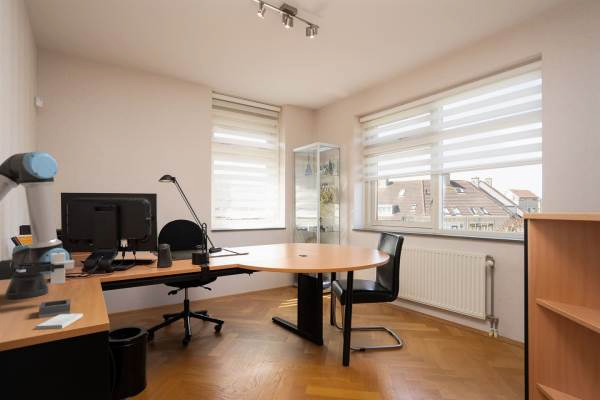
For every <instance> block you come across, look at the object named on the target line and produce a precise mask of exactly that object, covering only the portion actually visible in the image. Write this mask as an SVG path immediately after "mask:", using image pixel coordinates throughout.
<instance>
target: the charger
mask: <svg viewBox="0 0 600 400" xmlns="http://www.w3.org/2000/svg"><path fill="white" fill-rule="evenodd" d="M63 262H65V253H52V254H51V264H54V263H63ZM65 282H66V269H61V270H54V272H52V271H51V275H50V285H57V284H63V283H64V284H65Z"/></svg>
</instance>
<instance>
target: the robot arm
mask: <svg viewBox="0 0 600 400" xmlns="http://www.w3.org/2000/svg"><path fill="white" fill-rule="evenodd" d="M58 171H59V165H58V162H57V160H56V159H55V158H54V157H53V156H52V155H50V154H49V153H46V152H45V151H29V152H22V153H21V152H20V153H14V154H13V155H10V156H9V157H7V158H5V160H4V161H3V162H2V163H1V164H0V202H2V200H3V199H4V198H5V197H6V196H7V195H8V194H9V192H11V190H13V189H15V188H17V187H18V186H19V185H20V186H21V187H24V190H25V197H26V204H27V205H26V206H27V211H28V218H29V227H30V233H31V234H30V235H31V241H32V242H31V244H23V245H17V246H16V245H15V246H14V247H13V248H12V252H11V259H6V260H5V259H3V260H0V281H6V280H7V281H9V280H10V282H9V283H8V287H6V290H5V293H4V298H5V299H9V300H17V299H20V300H21V299H28V298H35V297H39V296H43V295H47V294H48V293H49V289H50V287H49V285H48V282H47V280H46V277H45V276H49V275H50V276H51V271H52V272H54V270H61V269H65V270H68V269H69V270H70V269H71V270H72V269H74V268H75V259H70V254H69V252H68V251H67V250H66V249H64V247H63V242H62V240H60V239H58V235H57V226H56V220H55V211H54V205H53V196H52V190H51V189H52V187H51V186H52V185H53V184H54V183H55V176H56V174H57V173H58ZM52 253H65V262H63V263H54V264H51V254H52Z"/></svg>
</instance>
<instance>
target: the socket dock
mask: <svg viewBox="0 0 600 400" xmlns="http://www.w3.org/2000/svg"><path fill="white" fill-rule="evenodd" d="M71 301H72V298H67V299H60V300H59V299H57V300H50V301H44V302H43V301H42V302H41V303H40V305H39V308H38V319H42V318H49V317H55V316H57V315H60V314H71Z"/></svg>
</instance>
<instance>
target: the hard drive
mask: <svg viewBox="0 0 600 400" xmlns="http://www.w3.org/2000/svg"><path fill="white" fill-rule="evenodd" d="M83 316H84V314H83V313H70V314H60V315H57V316H52V317H51V318H50V319H47V320H46V321H43V322H42V323H40V324H38V325H36V326H35V327H34V329H35V330H49V329H50V330H52V329H54V330H56V329H55V328H57V329H63V328H65V327H67V326H69V325H70V324H72V323H74V322H75V321H77V320H79V319H80V318H82V317H83Z"/></svg>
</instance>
